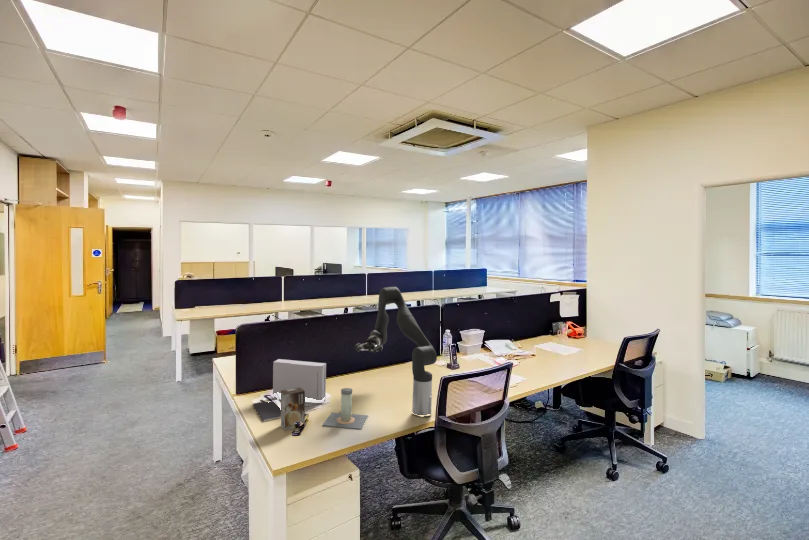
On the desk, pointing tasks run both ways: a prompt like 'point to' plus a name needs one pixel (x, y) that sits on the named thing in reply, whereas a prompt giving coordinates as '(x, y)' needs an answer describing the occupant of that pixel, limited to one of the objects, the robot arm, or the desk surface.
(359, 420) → the card
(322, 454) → the desk surface
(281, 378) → the game console
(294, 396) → the coffee box
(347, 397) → the tube
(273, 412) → the notebook
